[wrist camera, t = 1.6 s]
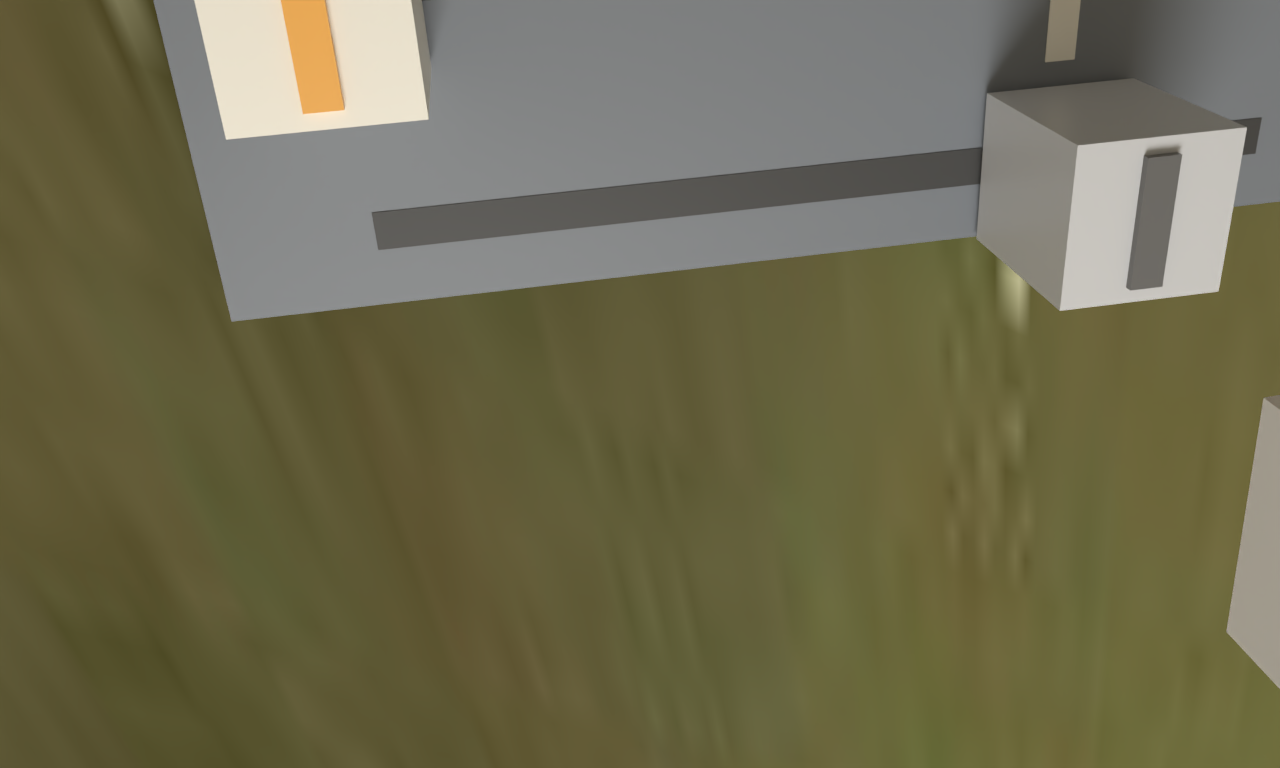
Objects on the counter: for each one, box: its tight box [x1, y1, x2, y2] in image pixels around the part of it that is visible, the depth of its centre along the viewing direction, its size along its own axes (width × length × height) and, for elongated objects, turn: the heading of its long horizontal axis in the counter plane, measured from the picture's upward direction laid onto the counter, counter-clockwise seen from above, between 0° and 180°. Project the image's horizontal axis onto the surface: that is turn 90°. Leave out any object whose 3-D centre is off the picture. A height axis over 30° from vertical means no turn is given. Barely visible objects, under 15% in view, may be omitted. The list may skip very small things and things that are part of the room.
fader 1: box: [194, 0, 431, 140], centre depth 25 cm, size 4×4×5 cm
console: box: [154, 0, 1280, 321], centre depth 31 cm, size 10×32×2 cm, turn 94°
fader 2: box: [977, 78, 1247, 311], centre depth 30 cm, size 4×4×5 cm
